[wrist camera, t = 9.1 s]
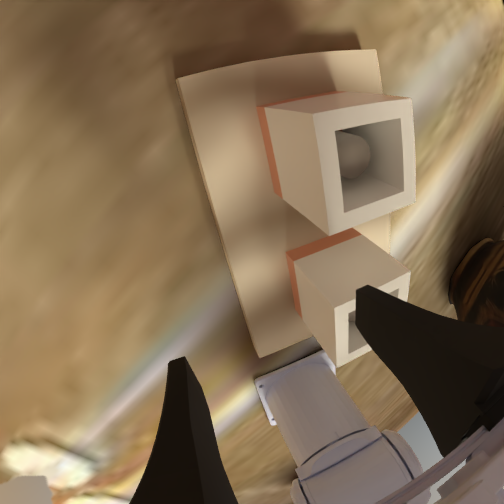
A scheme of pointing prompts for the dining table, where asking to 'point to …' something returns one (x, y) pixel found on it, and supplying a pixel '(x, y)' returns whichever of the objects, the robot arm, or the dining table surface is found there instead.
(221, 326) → the dining table surface
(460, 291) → the ceramic jug
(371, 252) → the seated sleeve
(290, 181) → the sleeve
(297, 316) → the pin board
